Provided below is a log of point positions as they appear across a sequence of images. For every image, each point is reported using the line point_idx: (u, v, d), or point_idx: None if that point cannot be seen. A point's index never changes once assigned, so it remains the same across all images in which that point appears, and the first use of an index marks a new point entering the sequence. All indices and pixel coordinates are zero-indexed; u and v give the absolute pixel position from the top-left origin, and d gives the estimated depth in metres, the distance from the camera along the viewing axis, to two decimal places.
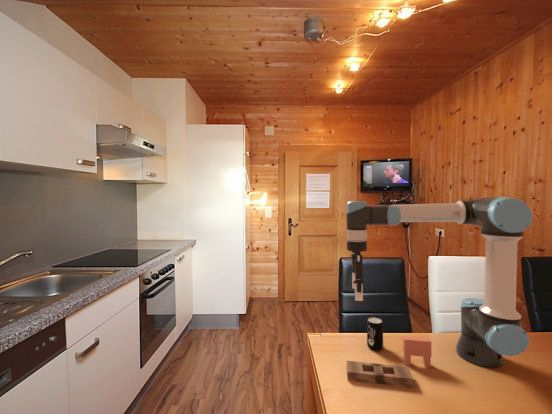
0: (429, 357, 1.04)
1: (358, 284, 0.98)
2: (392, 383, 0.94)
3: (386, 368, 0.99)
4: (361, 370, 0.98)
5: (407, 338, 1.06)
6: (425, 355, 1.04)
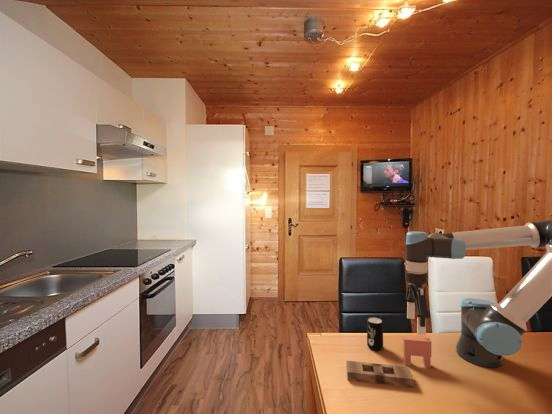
0: (429, 357, 1.04)
1: (422, 318, 0.97)
2: (392, 383, 0.94)
3: (386, 368, 0.99)
4: (361, 370, 0.98)
5: (407, 338, 1.06)
6: (425, 355, 1.04)
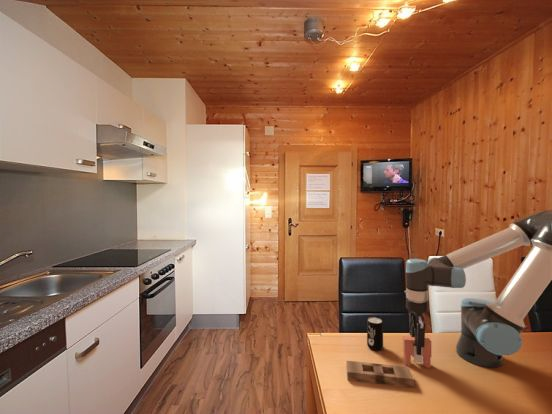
0: (429, 357, 1.04)
1: (418, 347, 1.02)
2: (392, 383, 0.94)
3: (386, 368, 0.99)
4: (361, 370, 0.98)
5: (407, 338, 1.06)
6: (425, 355, 1.04)
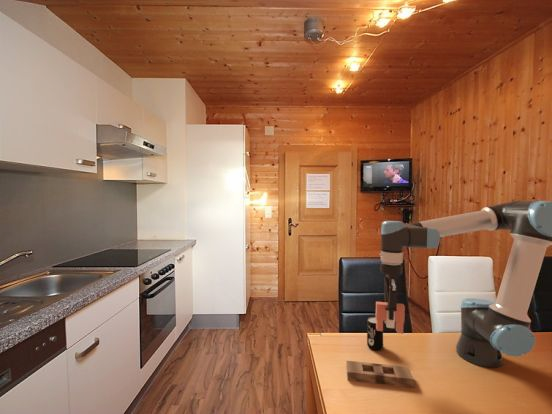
0: (402, 323, 0.99)
1: (390, 311, 0.98)
2: (392, 383, 0.94)
3: (386, 368, 0.99)
4: (361, 370, 0.98)
5: (380, 303, 1.01)
6: (398, 321, 0.99)
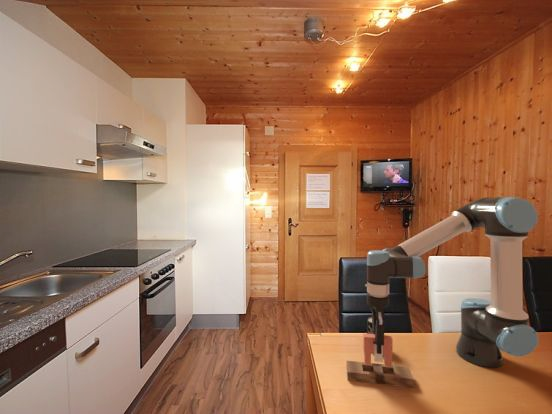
0: (390, 356, 0.96)
1: (378, 345, 0.95)
2: (392, 383, 0.94)
3: (386, 368, 0.99)
4: (361, 370, 0.98)
5: (367, 335, 0.98)
6: (386, 354, 0.96)
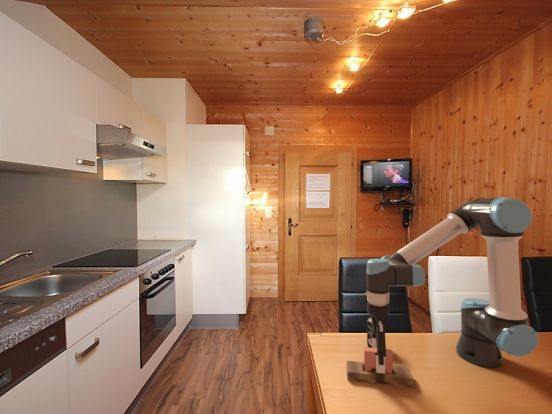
0: (390, 370, 0.96)
1: (380, 356, 0.91)
2: (392, 383, 0.94)
3: None
4: (361, 370, 0.98)
5: (368, 349, 0.98)
6: (386, 368, 0.96)
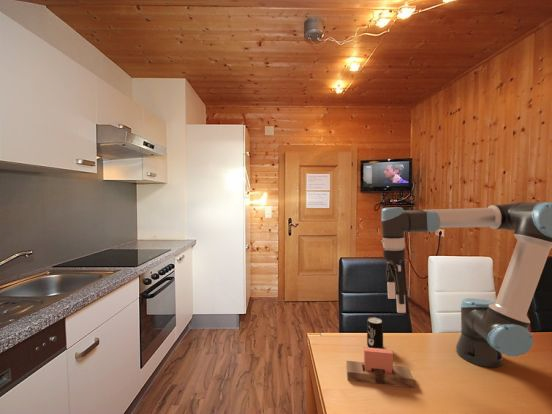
0: (390, 370, 0.96)
1: (401, 295, 0.93)
2: (392, 383, 0.94)
3: None
4: (361, 370, 0.98)
5: (368, 349, 0.98)
6: (386, 368, 0.96)
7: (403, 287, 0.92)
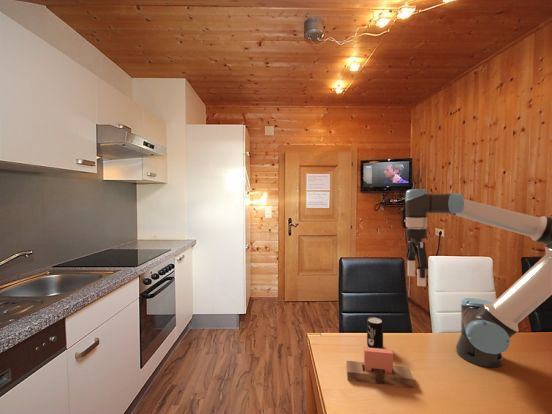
0: (390, 370, 0.96)
1: (422, 270, 1.00)
2: (392, 383, 0.94)
3: None
4: (361, 370, 0.98)
5: (368, 349, 0.98)
6: (386, 368, 0.96)
7: (425, 262, 0.99)
